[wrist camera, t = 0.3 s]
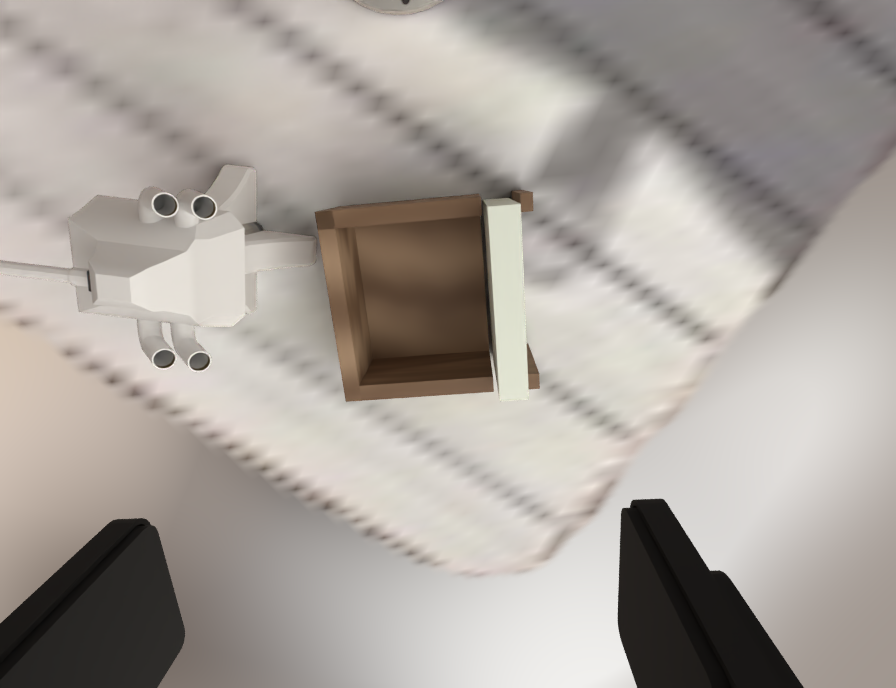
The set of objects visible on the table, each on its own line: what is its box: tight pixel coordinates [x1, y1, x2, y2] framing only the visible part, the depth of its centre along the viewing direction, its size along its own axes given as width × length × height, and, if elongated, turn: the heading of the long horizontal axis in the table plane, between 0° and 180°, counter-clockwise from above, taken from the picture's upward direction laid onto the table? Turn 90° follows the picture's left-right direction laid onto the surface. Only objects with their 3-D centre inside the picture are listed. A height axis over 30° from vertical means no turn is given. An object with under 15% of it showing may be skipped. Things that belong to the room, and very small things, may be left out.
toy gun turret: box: [0, 164, 317, 372], centre depth 33 cm, size 12×13×18 cm
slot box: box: [315, 190, 540, 402], centre depth 39 cm, size 14×15×7 cm
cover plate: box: [483, 198, 529, 401], centre depth 38 cm, size 13×2×10 cm, turn 5°
